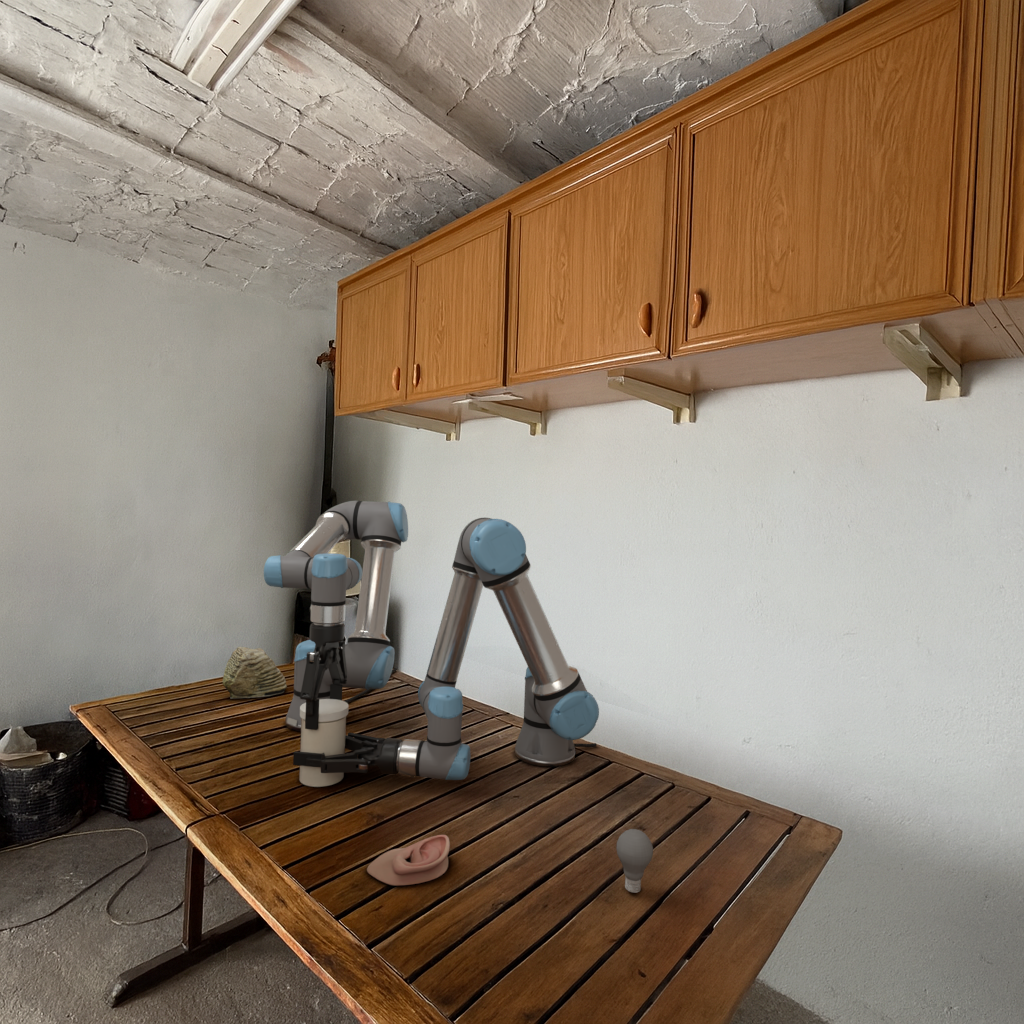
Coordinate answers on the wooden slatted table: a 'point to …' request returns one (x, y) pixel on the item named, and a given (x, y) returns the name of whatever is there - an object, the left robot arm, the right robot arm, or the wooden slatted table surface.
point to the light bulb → (634, 857)
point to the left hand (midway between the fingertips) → (323, 720)
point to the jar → (322, 750)
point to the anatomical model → (412, 862)
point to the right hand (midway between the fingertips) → (304, 748)
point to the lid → (328, 710)
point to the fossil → (252, 674)
